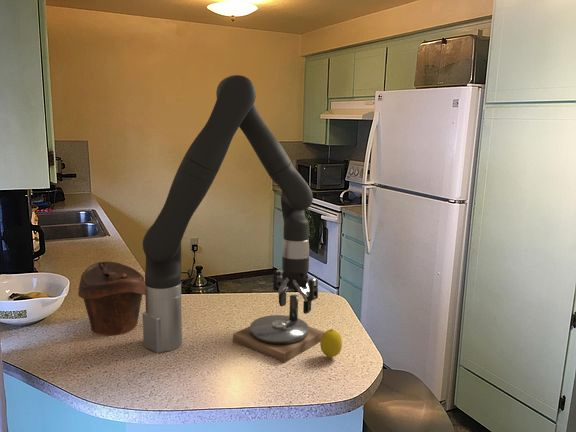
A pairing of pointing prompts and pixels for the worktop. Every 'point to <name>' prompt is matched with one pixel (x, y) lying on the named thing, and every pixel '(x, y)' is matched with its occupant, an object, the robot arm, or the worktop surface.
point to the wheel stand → (278, 350)
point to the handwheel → (280, 327)
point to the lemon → (331, 343)
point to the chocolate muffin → (112, 297)
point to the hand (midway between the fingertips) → (294, 309)
